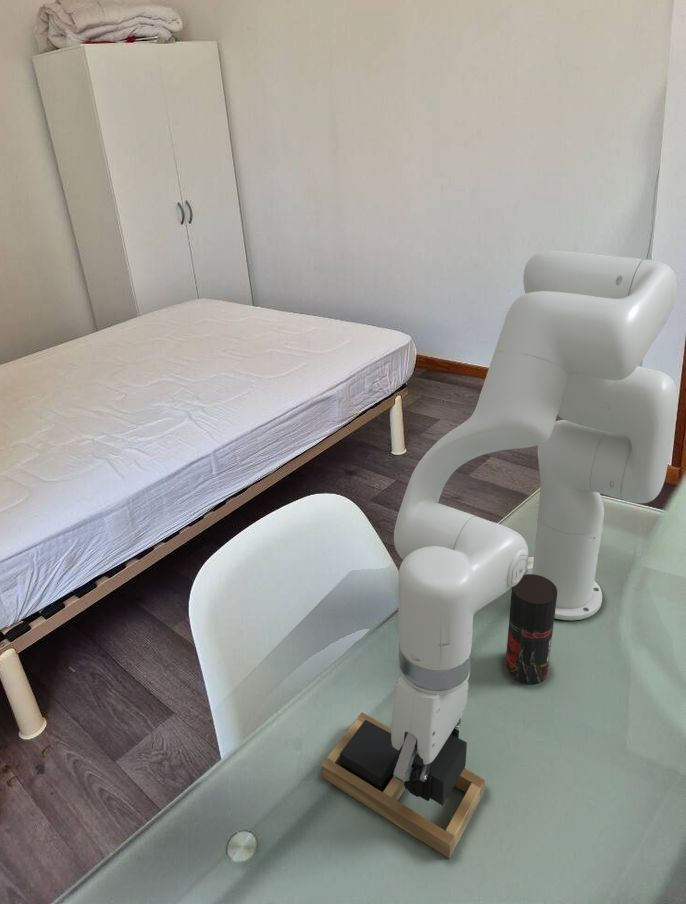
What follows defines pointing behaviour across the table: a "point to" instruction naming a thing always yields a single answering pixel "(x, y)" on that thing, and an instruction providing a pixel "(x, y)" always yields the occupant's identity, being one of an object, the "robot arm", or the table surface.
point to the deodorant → (530, 629)
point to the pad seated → (370, 755)
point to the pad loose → (445, 767)
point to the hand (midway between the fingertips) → (431, 769)
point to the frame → (388, 799)
